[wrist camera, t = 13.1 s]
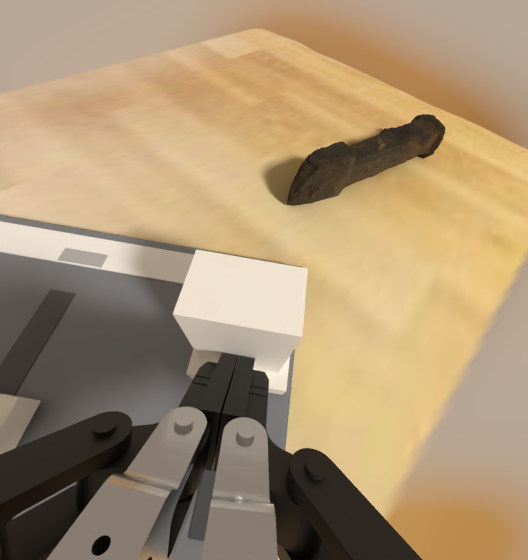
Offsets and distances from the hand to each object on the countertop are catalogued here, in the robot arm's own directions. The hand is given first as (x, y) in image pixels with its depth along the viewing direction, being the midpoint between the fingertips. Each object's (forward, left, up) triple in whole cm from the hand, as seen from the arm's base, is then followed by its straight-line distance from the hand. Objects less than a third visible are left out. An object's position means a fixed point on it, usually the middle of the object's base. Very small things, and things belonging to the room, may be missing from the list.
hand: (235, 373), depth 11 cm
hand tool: (+9, +22, -5) cm, 24 cm away
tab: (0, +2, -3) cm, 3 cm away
